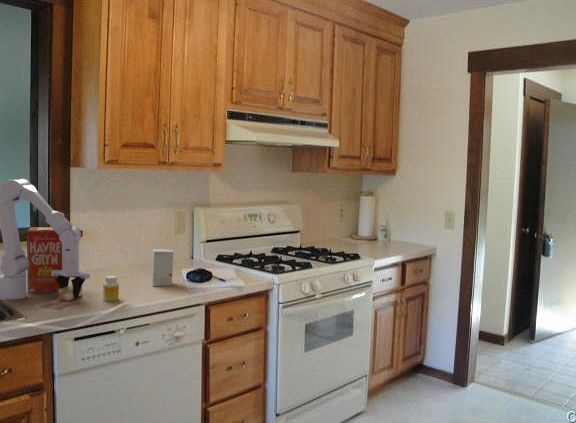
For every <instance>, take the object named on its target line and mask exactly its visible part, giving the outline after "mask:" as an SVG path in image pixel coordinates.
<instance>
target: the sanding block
mask: <svg viewBox="0 0 576 423" xmlns="http://www.w3.org/2000/svg"><path fill="white" fill-rule="evenodd" d="M82 294H83V286H82V287H81V289H80V293H79V297H81V296H82ZM58 297H59V300H60V301H71V300H73V299H76V298H74V296H73V285H72V284H71V285H68V286H67V287H65V288H62V289H59V291H58ZM77 298H78V297H77Z"/></svg>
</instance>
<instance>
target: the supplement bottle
mask: <svg viewBox="0 0 576 423" xmlns="http://www.w3.org/2000/svg"><path fill="white" fill-rule="evenodd" d="M104 280H105V282H104V283H103V286H102V287H103V288H102V291H103V293H102V296H103V297H102V301H104V302H106V303H107V302H109V303H110V302H117V301H119V295H120V294H119V292H120V291H119V290H120V289H119V287H120V284H119V282H118V281H117V280H118V277H117V275H107V276H105V279H104Z"/></svg>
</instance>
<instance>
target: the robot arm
mask: <svg viewBox="0 0 576 423" xmlns="http://www.w3.org/2000/svg"><path fill="white" fill-rule="evenodd" d="M20 200H24V201H28V202H30V203H31V204H32V205H33V206H34V207H35V208H36V209H37V210H38V211H40V212H41V214H43V215H44V216H45V223H47V224H48V225H49V227H52V229H53V230H54V231H55V232H56V233H57V234H58V235H60V236H59V239H60V241H61V242H62V270H53V271H52V276H58V278H56V281H57V283H58V284H59V286H60V289H62V288H65V287H67V286H69V282H70V281H71V285H73V296H74V298H77V297H79V293H80V289H81V287H82V288H83V285H84V283H85V281H86V280H89V279H90V278H91V277H90V276H91V275H90V274H91V273H90V272H85V271H81V270H80V245H79V244H80V241H79V240H80V239H81V238H82V231H81V230H80V228H79V227H77V226H75V225H74V224H73V223H70V221H69V220H68V219H67V218H66V217H65V214H64V212H60V211H59V210H58V211H57V210H54V209H53V208H52V206H50V205H49V203H48V202H47V201H46V200H45V199H44V197H43V196H42V195H41V194H40V192H38V190H37V188H36V186H35V185H33V184H31V182H30V181H29V180H27V179H26V178H20V179H8V180H6V181H5V182H3V183H2V185H0V232H1V238H2V244H3V250H4V251H3V253H2V255H1V257H0V258H1V263H0V272H1V275H0V300H2V301H5V300H20V299H25V298H26V297H27V269H28V267H29V261H28V259H27V255H26V252H25V250H23V249H22V246H21V241H20V234H19V229H18V222H17V215H16V210H15V206H16V204H17V203H18V202H20ZM71 278H73V279H71ZM70 279H71V280H70ZM2 301H1V302H2Z"/></svg>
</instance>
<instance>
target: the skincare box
mask: <svg viewBox="0 0 576 423" xmlns="http://www.w3.org/2000/svg"><path fill="white" fill-rule="evenodd" d="M173 263H174V250H173V249H164V248H163V249H152V274H151V283H152V287H164V286H165V287H167V286H169V287H171V286H173V270H174V269H173V267H174V266H173V265H174V264H173Z"/></svg>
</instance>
